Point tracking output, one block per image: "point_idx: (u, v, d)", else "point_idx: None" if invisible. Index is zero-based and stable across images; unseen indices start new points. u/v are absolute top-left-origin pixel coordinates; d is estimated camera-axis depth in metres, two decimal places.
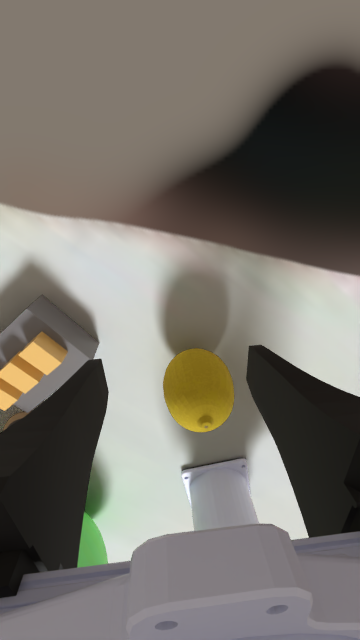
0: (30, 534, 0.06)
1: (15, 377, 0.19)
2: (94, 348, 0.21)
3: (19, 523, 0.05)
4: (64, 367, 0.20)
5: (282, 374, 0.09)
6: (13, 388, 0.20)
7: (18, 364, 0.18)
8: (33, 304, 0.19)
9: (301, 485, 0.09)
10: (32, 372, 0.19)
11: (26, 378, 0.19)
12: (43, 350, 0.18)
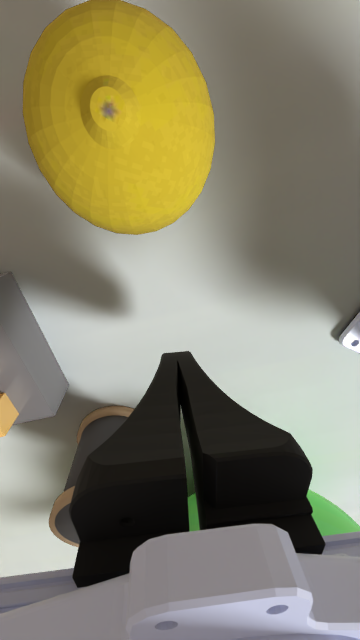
0: (188, 515, 0.06)
1: None
2: None
3: (187, 503, 0.05)
4: None
5: (187, 383, 0.09)
6: None
7: None
8: None
9: (197, 497, 0.08)
10: None
11: None
12: None
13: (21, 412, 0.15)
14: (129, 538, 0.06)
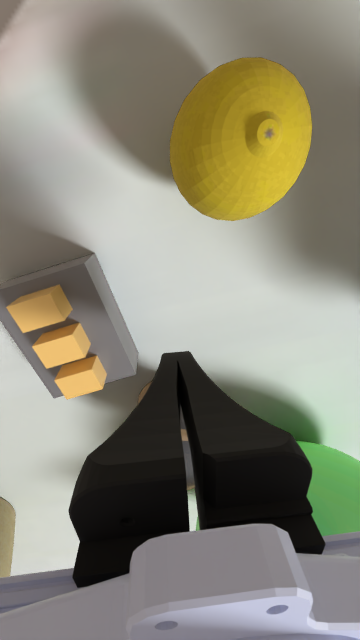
0: (188, 515, 0.06)
1: (56, 353, 0.15)
2: (87, 258, 0.15)
3: None
4: (83, 301, 0.15)
5: (187, 383, 0.09)
6: (83, 365, 0.16)
7: (42, 341, 0.15)
8: None
9: (197, 497, 0.08)
10: (61, 334, 0.15)
11: (61, 343, 0.14)
12: (23, 303, 0.13)
13: (108, 372, 0.17)
14: (129, 538, 0.06)
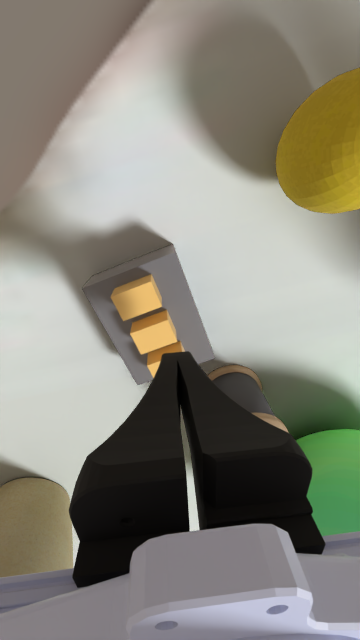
0: (188, 515, 0.06)
1: (151, 339, 0.15)
2: (170, 248, 0.16)
3: None
4: (171, 288, 0.16)
5: (187, 383, 0.09)
6: (170, 351, 0.17)
7: (138, 328, 0.15)
8: (87, 283, 0.16)
9: (197, 497, 0.08)
10: (155, 321, 0.15)
11: (156, 329, 0.15)
12: (126, 292, 0.14)
13: None
14: (129, 538, 0.06)
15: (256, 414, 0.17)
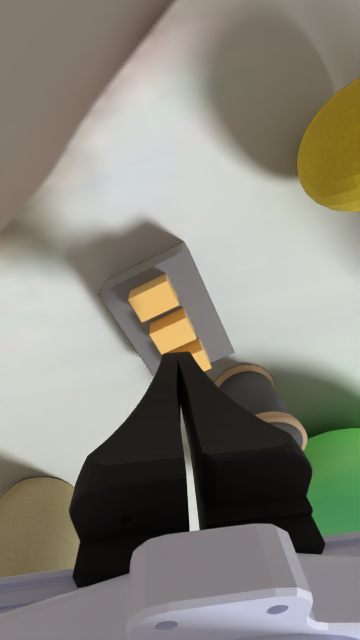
0: (188, 515, 0.06)
1: (171, 338, 0.15)
2: (182, 245, 0.16)
3: (187, 503, 0.05)
4: (187, 286, 0.16)
5: (187, 383, 0.09)
6: (190, 348, 0.17)
7: (157, 328, 0.15)
8: (102, 287, 0.16)
9: (197, 497, 0.08)
10: (173, 320, 0.15)
11: (175, 328, 0.15)
12: (142, 293, 0.14)
13: (209, 353, 0.18)
14: (129, 538, 0.06)
15: (273, 413, 0.17)
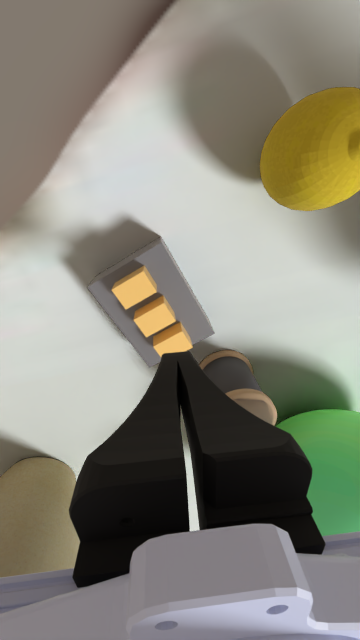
0: (188, 515, 0.06)
1: (153, 322, 0.18)
2: (158, 240, 0.18)
3: (187, 503, 0.05)
4: (164, 275, 0.18)
5: (187, 383, 0.09)
6: (172, 331, 0.19)
7: (140, 314, 0.18)
8: (91, 282, 0.18)
9: (197, 497, 0.08)
10: (154, 306, 0.18)
11: (156, 313, 0.17)
12: (123, 283, 0.16)
13: (191, 335, 0.20)
14: (129, 538, 0.06)
15: (245, 390, 0.19)
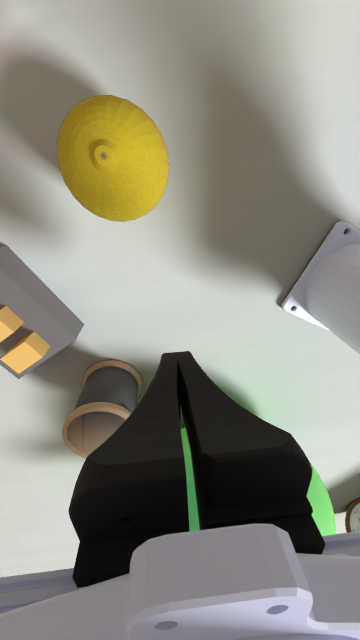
0: (188, 515, 0.06)
1: None
2: None
3: (187, 503, 0.05)
4: None
5: (187, 383, 0.09)
6: (21, 342, 0.18)
7: None
8: None
9: (197, 497, 0.08)
10: None
11: None
12: None
13: (51, 344, 0.20)
14: (129, 538, 0.06)
15: (99, 403, 0.19)
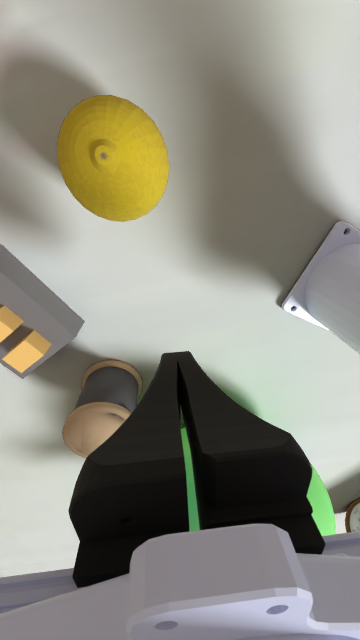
0: (188, 515, 0.06)
1: None
2: None
3: (187, 503, 0.05)
4: None
5: (187, 383, 0.09)
6: (22, 341, 0.18)
7: None
8: None
9: (197, 497, 0.08)
10: None
11: None
12: None
13: (52, 342, 0.19)
14: (129, 538, 0.06)
15: (99, 403, 0.19)
